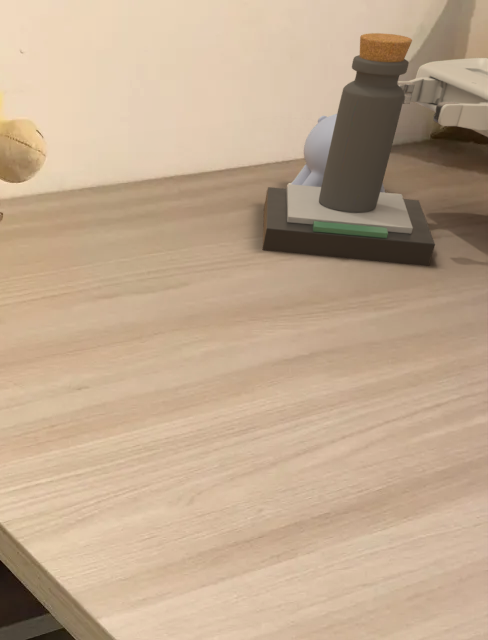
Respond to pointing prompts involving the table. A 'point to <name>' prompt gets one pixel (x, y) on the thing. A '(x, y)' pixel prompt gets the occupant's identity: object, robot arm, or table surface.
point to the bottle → (365, 125)
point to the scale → (346, 228)
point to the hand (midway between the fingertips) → (414, 102)
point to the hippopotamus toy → (317, 153)
